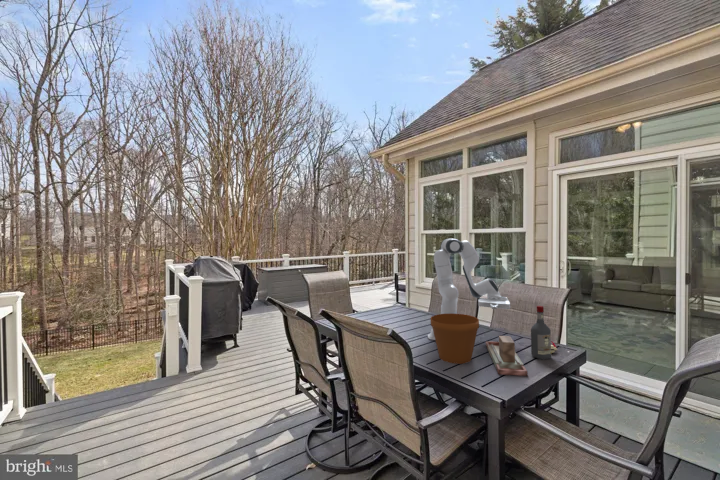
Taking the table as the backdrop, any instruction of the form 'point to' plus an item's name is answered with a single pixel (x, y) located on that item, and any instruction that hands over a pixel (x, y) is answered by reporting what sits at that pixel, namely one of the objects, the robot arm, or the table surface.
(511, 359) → the walnut block
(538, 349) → the liquor
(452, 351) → the flowerpot
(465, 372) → the table surface
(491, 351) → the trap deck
